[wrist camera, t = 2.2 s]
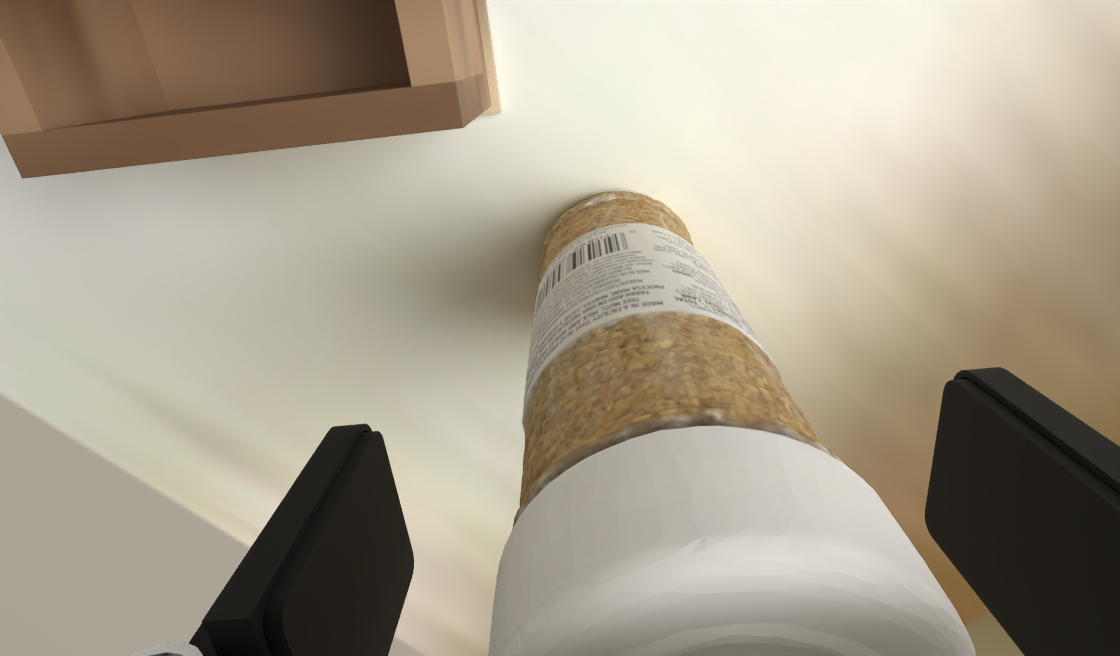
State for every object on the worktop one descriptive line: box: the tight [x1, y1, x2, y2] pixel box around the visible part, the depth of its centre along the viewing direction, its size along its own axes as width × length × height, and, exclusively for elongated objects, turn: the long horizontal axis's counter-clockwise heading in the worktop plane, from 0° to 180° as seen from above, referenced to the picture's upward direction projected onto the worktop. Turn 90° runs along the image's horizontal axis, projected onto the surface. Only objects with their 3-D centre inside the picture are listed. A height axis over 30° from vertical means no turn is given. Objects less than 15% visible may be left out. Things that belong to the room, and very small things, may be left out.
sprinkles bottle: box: [489, 192, 976, 656], centre depth 11 cm, size 5×5×13 cm
